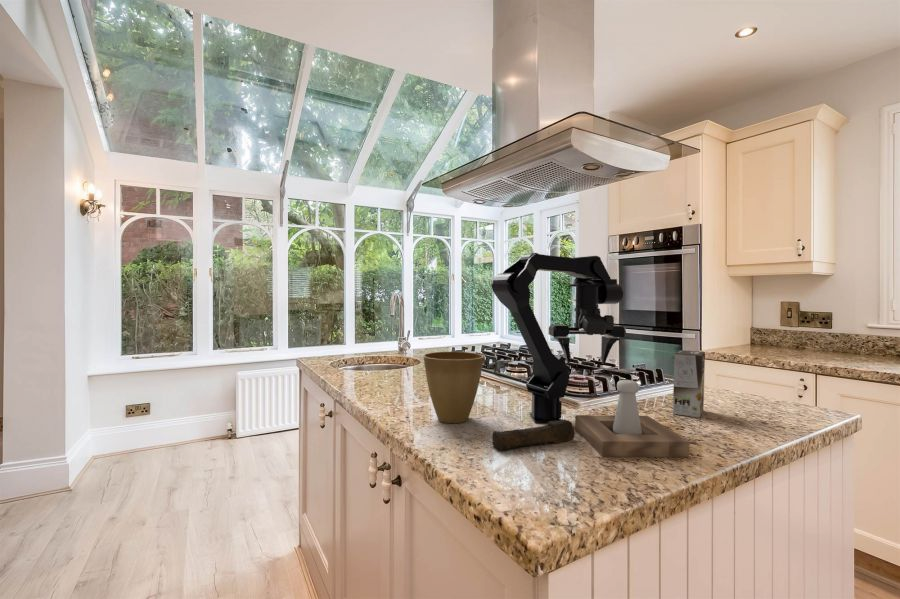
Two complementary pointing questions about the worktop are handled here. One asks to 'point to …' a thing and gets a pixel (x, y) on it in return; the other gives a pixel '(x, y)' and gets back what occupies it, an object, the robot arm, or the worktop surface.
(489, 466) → the worktop surface
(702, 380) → the coffee box
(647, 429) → the socket board
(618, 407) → the salt shaker
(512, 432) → the dark brown log
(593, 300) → the robot arm
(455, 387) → the plant pot
